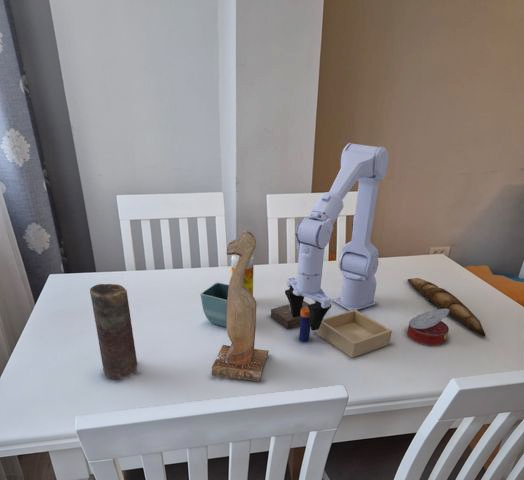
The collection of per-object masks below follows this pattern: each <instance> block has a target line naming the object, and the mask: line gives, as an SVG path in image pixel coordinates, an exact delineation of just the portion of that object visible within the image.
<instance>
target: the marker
mask: <svg viewBox="0 0 524 480" xmlns="http://www.w3.org/2000/svg"><path fill="white" fill-rule="evenodd" d="M300 315H301V319H300V326H299V331H298V333H299V334H298V341H299V342H301V343H307V342H309V341H310V335H311V327H310V312H309V308H308V307H303V308H301V314H300Z"/></svg>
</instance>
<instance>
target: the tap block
mask: <svg viewBox="0 0 524 480" xmlns="http://www.w3.org/2000/svg"><path fill="white" fill-rule="evenodd" d="M310 304H311V303H308V302H307V301H305V300H303V307H308V305H310ZM289 308H290V304H289V303H287V304H285V305H280V306H277V307H274V308H270V318H271V319H273V320H274V321H275V322H277V323H278V324H279V325H280V326H282V327H284V328H285V329H287V330H290V329H293V328H297V327H300V319H301V315H300V316H299V317H295V318H293V317H292V313H291V311H290V310H289Z"/></svg>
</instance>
